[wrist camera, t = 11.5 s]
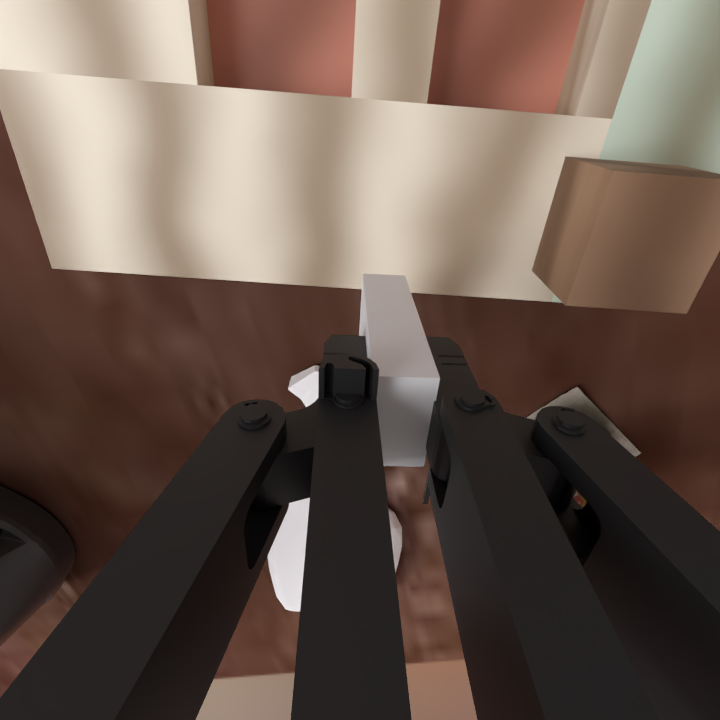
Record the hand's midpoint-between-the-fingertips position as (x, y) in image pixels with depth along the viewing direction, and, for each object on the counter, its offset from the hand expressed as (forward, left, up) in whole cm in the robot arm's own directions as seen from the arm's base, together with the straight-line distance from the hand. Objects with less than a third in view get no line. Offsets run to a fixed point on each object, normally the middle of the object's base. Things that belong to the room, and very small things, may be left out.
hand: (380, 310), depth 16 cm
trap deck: (-1, +6, -8) cm, 10 cm away
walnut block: (+10, +3, -6) cm, 12 cm away
